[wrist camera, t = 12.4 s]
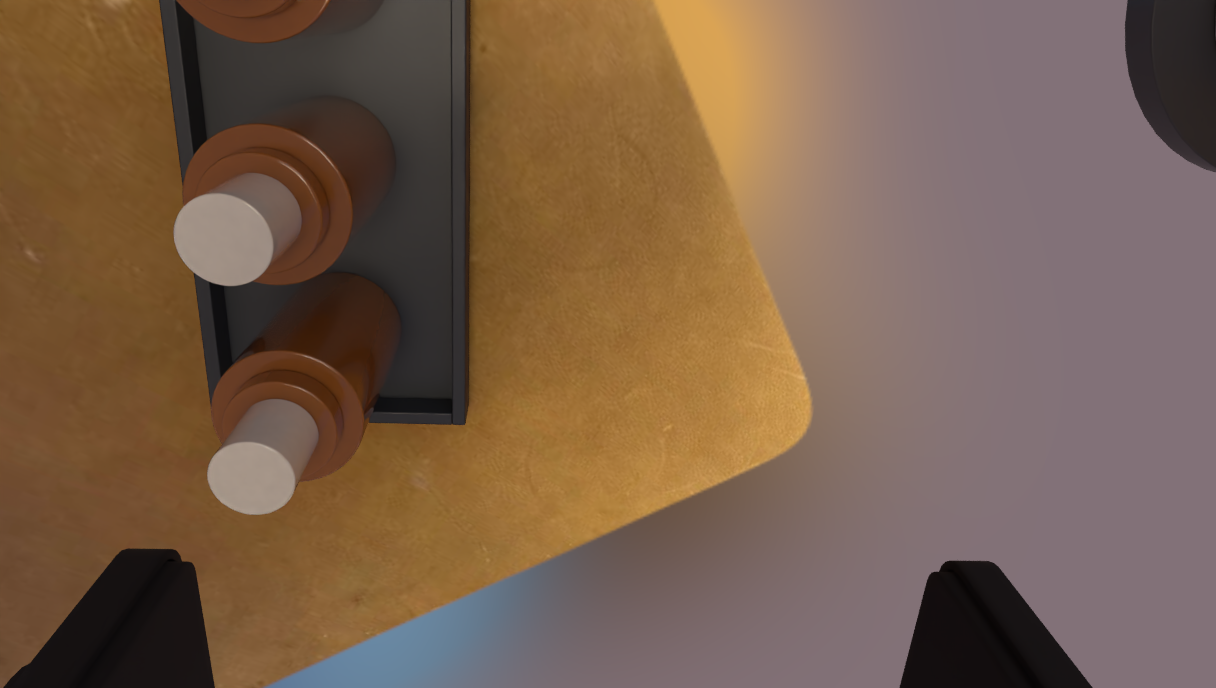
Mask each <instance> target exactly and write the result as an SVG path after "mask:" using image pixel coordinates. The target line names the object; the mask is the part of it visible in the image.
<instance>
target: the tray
mask: <svg viewBox="0 0 1216 688" xmlns="http://www.w3.org/2000/svg"><path fill="white" fill-rule="evenodd" d="M159 3H160V10H161V18H162V26H163V34H164V42H165V50H166V57H167V65H168V73H169V81H170V89H171V97H172V105H173V112H174V120H175V128H176V136H177V144H178V152H179V160H180V167H181V175H182V183H183V182H184V177H185V173H186V170H187V168H188V165H189V163H190V161H191V159H192V157H193V156H194V154H195V153H196V151H197V150H198V149H199V148H200V146H201V145H202V144H203V143H205V142H206V141H207V140H208V139H209V138H211V137H212V136H214V135H215V134H217V133H218V132H220V131H223V130H225V129H227V128H230V127H232V126H235V125H237V124H240V123H242V122H245V121H248V120H250V119H253V118H255V117H258V116H260V115H263V114H266V113H268V112H271V111H273V110H276V109H278V108H281V107H284V106H286V105H289V104H291V103H294V102H297V101H299V100H302V99H304V98H308V97H311V96H317V95H333V96H339V97H343V98H347V99H349V100H352V101H354V102H356V103H358V104H360V105H362V106H363V107H365V108H366V109H368V110H369V111H370V112H371V113H372V114H373V115H375V116H376V117H377V118H378V120H379V121H380V122H381V123H382V124H383V126H384V127H385V129H386V130H387V132H388V134H389V136H390V138H391V140H392V143H393V146H394V150H395V154H396V175H395V180H394V183H393V186H392V188H391V190H390V192H389V194H388V196H387V197H386V199H385V200H384V201H383V203H382V204H381V205H380V206H379V208H378V209H377V210H376V211H375V213H374V214H373V215H372V216H371V218H370V219H369V220H368V222H367V223H366V224H365V225H364V227H363V228H362V229H361V230H360V232H359V233H358V234H357V235H356V237H355V238H354V239H353V240H352V242H351V243H350V244H349V245H348V247H347V248H346V249H345V251H344V252H343V253H342V254H341V256H340V257H339V258H338V259H337V260H336V261H335V262H334V264H333V265H332V266H330V267H329V268H328V269H327V270H326V271H324V272H323V273H321V274H325V273H332V272H342V273H350V274H354V275H358V276H361V277H363V278H366V279H368V280H370V281H371V282H373V283H375V284H376V285H378V286H379V287H380V288H381V289H382V290H384V291H385V292H386V294H387V295H388V296H389V297H390V298H391V300H392V301H393V302H394V304H395V306H396V308H397V310H398V313H399V315H400V319H401V324H402V338H401V343H400V346H399V349H398V351H397V354H396V356H395V359H394V361H393V364H392V366H391V369H390V371H389V373H388V376H387V378H386V381H385V383H384V386H383V388H382V391H381V393H380V396H379V398H378V401H377V403H376V406H375V408H374V410H373V413H372V415H371V418H370V420H369V423H405V424H450V425H451V424H453V425H465V423H466V417H467V411H468V406H469V222H470V0H384V2H383V4H382V5H381V7H380V8H379V10H378V11H377V12H376V14H375V15H374V16H373V17H372V18H371V19H370V20H369V21H368V22H366V23H365V24H363V25H362V26H360V27H359V28H357V29H354V30H352V31H349V32H346V33H341V34H334V35H326V36H319V37H311V38H303V39H295V40H288V41H280V42H272V43H248V42H242V41H238V40H234V39H230V38H228V37H225V36H223V35H220V34H218V33H216V32H214V31H212V30H211V29H209V28H207V27H205V26H204V25H203V24H201V23H200V22H198V21H197V20H196V19H194V18H193V17H192V16H191V15H190V14H189V13H188V12H186V11H185V9H184V8H183V7H182V6H181V5H180V4H179V3H178V2H177V1H176V0H159ZM321 274H319V275H321ZM194 277H195V285H196V293H197V301H198V309H199V317H200V324H201V332H202V340H203V348H204V356H205V364H206V372H207V379H208V387H209V395H210V403H211V404H212V397H213V393H214V390H215V388H216V386H217V383H218V382H219V380H220V379H221V377H222V375H223V374H224V373H225V372H226V371H227V370H228V368H229V367H230V366H231V365H232V364H233V363H234V361H235V360H236V359H237V358H238V357H239V356H240V354H241V353H242V352H243V351H244V350H245V349H246V347H247V346H248V345H249V344H250V343H251V342H252V340H253V339H254V338H255V337H256V336H257V335H258V333H259V332H260V331H261V330H262V329H263V328H264V326H265V325H266V324H267V323H268V322H269V320H270V319H271V318H272V317H273V316H274V315H275V313H276V312H277V311H278V310H279V309H280V308H281V306H282V305H283V304H284V303H285V302H286V301H287V299H288V298H289V297H290V296H291V295H292V294H293V292H294V291H295V290H296V289H297V288H298V287H299V286H300V285H302V284H303V283H304V282H306V281H304V282H300V283H297V284H290V285H268V284H262V283H257V282H253V281H252V282H249V283H247V284H243V285H238V286H224V285H219V284H215V283H212V282H209V281H207V280H205V279H203V278H201V277H200V276H198V275H197V274H195V273H194Z"/></svg>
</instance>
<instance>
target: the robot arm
mask: <svg viewBox="0 0 1216 688" xmlns="http://www.w3.org/2000/svg"><path fill="white" fill-rule="evenodd" d="M1215 37H1216V26H1215ZM4 688H215V686H214V680H213V674H212V668H211V662H210V656H209V650H208V643H207V637H206V631H205V625H204V619H203V613H202V607H201V601H200V594H199V588H198V582H197V576H196V571H195V567H194V565H193V564H192V563H191V562H182V560H181V556H180V555H179V553H178V552H177V551H176V550H173V549H125V550H122V551H121V552H120V553H119V554H118V555H117V556H116V557H115V558H114V559H113V560H112V562H111V563H110V564H109V565H108V567H107V568H106V569H105V570H104V572H103V573H102V574H101V575H100V577H99V578H98V579H97V580H96V582H95V583H94V584H93V585H92V587H91V588H90V589H89V590H88V592H87V593H86V594H85V595H84V597H83V598H82V599H81V600H80V602H79V603H78V604H77V605H76V607H75V608H74V609H73V610H72V612H71V613H70V614H69V615H68V617H67V618H66V619H65V620H64V622H63V623H62V624H61V625H60V627H59V628H58V629H57V630H56V632H55V633H54V634H53V635H52V637H51V638H50V639H49V640H48V642H47V643H46V644H45V645H44V647H43V648H42V649H41V650H40V652H39V653H38V654H37V655H36V657H35V658H34V659H33V660H32V662H31V663H30V664H28V665H26V666H24V667H22V668H21V669H20V670H19V671H18V672H17V673H16V674H15V675H14V676H13V677H12V678H11V679H10V680H9V681H8V683H7V684H6V685H5V686H4ZM900 688H1092V686H1091V685H1090V684H1089V683H1088V681H1087V680H1086V679H1085V677H1084V676H1083V675H1082V674H1081V672H1080V671H1079V670H1078V668H1077V667H1076V666H1075V665H1074V663H1073V662H1072V661H1071V659H1070V658H1069V657H1068V656H1067V654H1066V653H1065V652H1064V650H1063V649H1062V648H1061V647H1060V646H1059V644H1058V643H1057V642H1056V640H1055V639H1054V638H1053V636H1052V635H1051V634H1050V632H1049V631H1048V630H1047V629H1046V627H1045V626H1044V625H1043V623H1042V622H1041V621H1040V620H1039V618H1038V617H1037V616H1036V615H1035V613H1034V612H1033V611H1032V609H1031V608H1030V607H1029V605H1028V604H1027V603H1026V602H1025V600H1024V599H1023V598H1022V596H1021V595H1020V594H1019V593H1018V591H1017V590H1016V589H1015V587H1014V586H1013V585H1012V584H1011V582H1010V581H1009V580H1008V579H1007V577H1006V576H1005V575H1004V573H1003V572H1002V571H1001V569H1000V568H999V567H998V566H997V565H995V564H994V563H992V562H989V561H947V562H945V563H944V564H943V565H942V566H941V569H940V571H939V572H933V573H931V574H930V575H929V577H928V580H927V583H926V587H925V591H924V595H923V599H922V602H921V607H920V610H919V615H918V618H917V622H916V626H915V630H914V634H913V638H912V642H911V645H910V649H909V653H908V657H907V661H906V665H905V669H904V673H903V676H902V680H901V685H900Z"/></svg>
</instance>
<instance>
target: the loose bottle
mask: <svg viewBox="0 0 1216 688" xmlns="http://www.w3.org/2000/svg"><path fill="white" fill-rule="evenodd" d="M401 338H402V324H401V319H400V315H399V313H398V310H397V308H396V306H395V304H394V302H393V301H392V300H391V298H390V297H389V296H388V295H387V294H386V292H385V291H384V290H382V289H381V288H380V287H379V286H378V285H376V284H375V283H373V282H371V281H370V280H368V279H366V278H363V277H361V276H358V275H354V274H350V273H342V272H332V273H325V274H321V275H318V276H316V277H314V278H312V279H309V280H307V281H306V282H304V283H303V284H302V285H300V286H299V287H298V288H297V289H296V290H295V291H294V292H293V294H292V295H291V296H290V297H289V298H288V299H287V301H286V302H285V303H284V304H283V305H282V306H281V308H280V309H279V310H278V311H277V312H276V313H275V315H274V316H273V317H272V318H271V319H270V320H269V322H268V323H267V324H266V325H265V326H264V328H263V329H262V330H261V331H260V332H259V333H258V335H257V336H256V337H255V338H254V339H253V340H252V342H251V343H250V344H249V345H248V346H247V347H246V349H245V350H244V351H243V352H242V353H241V354H240V356H239V357H238V358H237V359H236V360H235V361H234V363H233V364H232V365H231V366H230V367H229V368H228V370H227V371H226V372H225V373H224V374H223V375H222V377H221V379H220V380H219V382H218V383H217V386H216V388H215V390H214V393H213V397H212V404H211V414H212V421H213V426H214V428H215V431H216V434H217V436H218V438H219V440H220V442H221V443H222V445H221V446H220V448H219V449H218V450H217V452H216V453H215V454H214V456H213V457H212V459H211V461H210V463H209V466H208V471H207V476H208V482H209V486H210V488H211V490H212V492H213V493H214V495H215V496H216V497H217V498H218V499H219V501H221V502H222V503H223V504H224V505H226V506H227V507H229V508H231V509H233V510H235V511H238V512H241V513H244V514H251V515H261V514H267V513H271V512H273V511H276V510H278V509H279V508H281V507H283V506H284V505H285V504H286V503H287V502H288V501H289V500H290V498H291V497H292V495H293V493H294V491H295V489H296V487H297V485H298V483H299V482H300V481H309V480H314V479H318V478H321V477H324V476H326V475H329V474H331V473H333V472H334V471H336V470H338V469H339V468H341V467H342V466H343V465H345V464H346V463H347V462H348V461H349V460H350V459H351V457H352V456H353V455H354V453H355V452H356V450H357V449H358V447H359V445H360V442H361V440H362V438H363V435H364V433H365V430H366V428H367V425H368V423H369V420H370V418H371V415H372V413H373V410H374V408H375V406H376V403H377V401H378V398H379V396H380V393H381V391H382V388H383V386H384V383H385V381H386V378H387V376H388V373H389V371H390V369H391V366H392V364H393V361H394V359H395V356H396V354H397V351H398V349H399V346H400V343H401Z"/></svg>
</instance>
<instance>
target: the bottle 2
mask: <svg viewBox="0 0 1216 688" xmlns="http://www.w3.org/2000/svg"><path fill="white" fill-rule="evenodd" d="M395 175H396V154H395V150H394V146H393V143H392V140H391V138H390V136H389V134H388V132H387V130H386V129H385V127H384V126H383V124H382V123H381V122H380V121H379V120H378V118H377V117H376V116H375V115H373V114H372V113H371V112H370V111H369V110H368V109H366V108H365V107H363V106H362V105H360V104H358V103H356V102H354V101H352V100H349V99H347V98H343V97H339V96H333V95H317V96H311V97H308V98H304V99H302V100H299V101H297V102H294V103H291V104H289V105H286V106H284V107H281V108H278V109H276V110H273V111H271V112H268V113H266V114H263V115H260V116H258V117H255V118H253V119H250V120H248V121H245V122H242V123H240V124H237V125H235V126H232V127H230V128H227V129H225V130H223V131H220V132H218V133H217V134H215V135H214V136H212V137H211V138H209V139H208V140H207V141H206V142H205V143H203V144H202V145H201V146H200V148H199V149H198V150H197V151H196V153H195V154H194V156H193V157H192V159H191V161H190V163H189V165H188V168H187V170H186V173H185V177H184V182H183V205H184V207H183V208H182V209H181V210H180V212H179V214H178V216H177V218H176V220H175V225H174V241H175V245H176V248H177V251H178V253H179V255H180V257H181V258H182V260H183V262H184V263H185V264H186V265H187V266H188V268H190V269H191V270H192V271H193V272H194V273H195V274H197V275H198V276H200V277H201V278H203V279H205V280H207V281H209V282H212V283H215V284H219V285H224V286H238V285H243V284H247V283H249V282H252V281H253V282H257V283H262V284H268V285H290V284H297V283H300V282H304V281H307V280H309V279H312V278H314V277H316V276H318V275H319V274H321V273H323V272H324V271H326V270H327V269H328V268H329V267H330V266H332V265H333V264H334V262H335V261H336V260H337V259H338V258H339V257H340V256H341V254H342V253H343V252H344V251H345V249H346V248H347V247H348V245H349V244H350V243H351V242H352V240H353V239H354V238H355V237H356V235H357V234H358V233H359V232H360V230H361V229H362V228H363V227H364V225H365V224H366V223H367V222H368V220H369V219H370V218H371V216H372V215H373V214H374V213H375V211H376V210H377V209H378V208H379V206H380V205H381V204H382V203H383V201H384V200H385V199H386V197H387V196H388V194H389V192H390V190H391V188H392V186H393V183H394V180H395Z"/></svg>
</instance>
